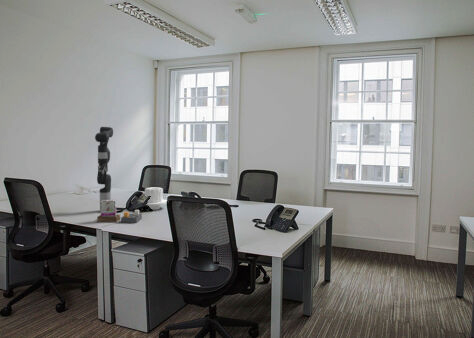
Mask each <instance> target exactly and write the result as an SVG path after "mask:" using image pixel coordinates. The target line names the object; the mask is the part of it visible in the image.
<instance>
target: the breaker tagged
mask: <svg viewBox="0 0 474 338" xmlns="http://www.w3.org/2000/svg"><path fill="white" fill-rule="evenodd" d="M129 214H130V212H129V211H124V212H123V216H124V217H129Z"/></svg>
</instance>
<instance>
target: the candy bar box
mask: <svg viewBox="0 0 474 338" xmlns="http://www.w3.org/2000/svg"><path fill="white" fill-rule="evenodd" d="M100 215H101V217H116V215H117V200H116V199H111V200H102V201H101V212H100Z"/></svg>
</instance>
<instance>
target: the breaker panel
mask: <svg viewBox="0 0 474 338" xmlns="http://www.w3.org/2000/svg"><path fill="white" fill-rule="evenodd" d="M142 219H143V214H142V213H139V215H135V213H129V217H124V215H123V216H120V220H121V221H120V222H121V224H137V223H138V222H140V221H141V220H142Z"/></svg>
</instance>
